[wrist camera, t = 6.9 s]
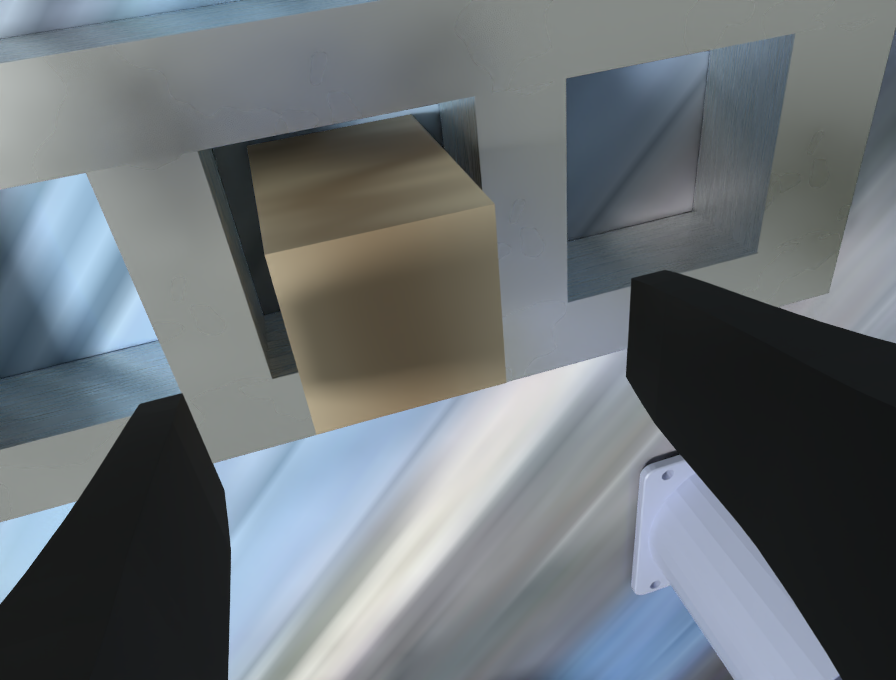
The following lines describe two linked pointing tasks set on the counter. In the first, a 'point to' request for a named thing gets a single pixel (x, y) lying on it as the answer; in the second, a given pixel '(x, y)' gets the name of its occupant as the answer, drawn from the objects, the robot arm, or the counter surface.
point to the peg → (380, 268)
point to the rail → (465, 139)
